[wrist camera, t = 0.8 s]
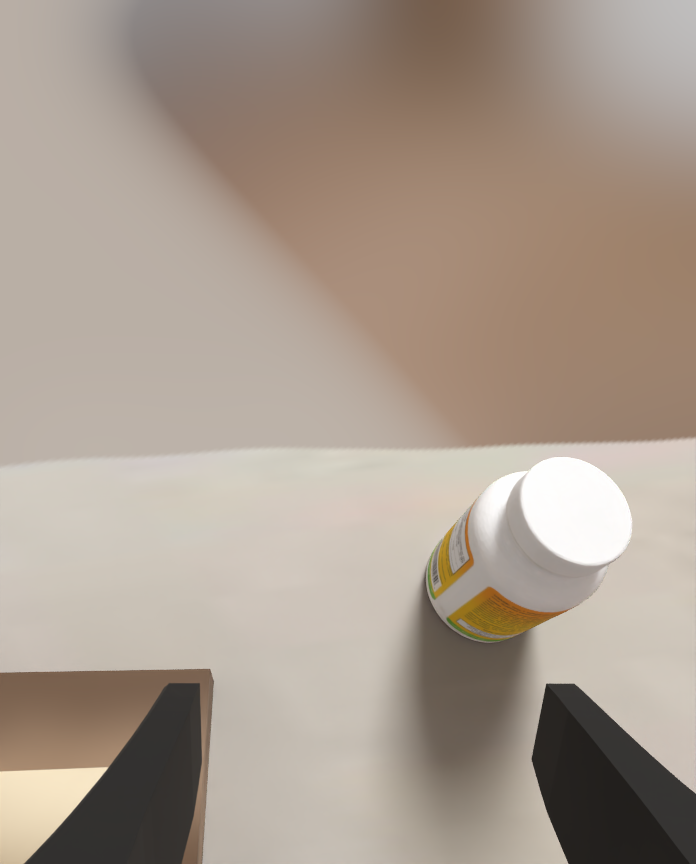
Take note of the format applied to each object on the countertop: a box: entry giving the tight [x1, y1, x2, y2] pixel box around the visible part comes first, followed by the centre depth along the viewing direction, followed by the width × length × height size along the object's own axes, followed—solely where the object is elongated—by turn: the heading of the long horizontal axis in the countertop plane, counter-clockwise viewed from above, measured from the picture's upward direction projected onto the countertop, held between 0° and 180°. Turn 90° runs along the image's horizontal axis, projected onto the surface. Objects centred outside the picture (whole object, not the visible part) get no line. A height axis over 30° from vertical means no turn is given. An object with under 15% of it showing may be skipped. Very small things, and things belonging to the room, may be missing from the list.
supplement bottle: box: [426, 457, 632, 643], centre depth 24 cm, size 5×5×10 cm
